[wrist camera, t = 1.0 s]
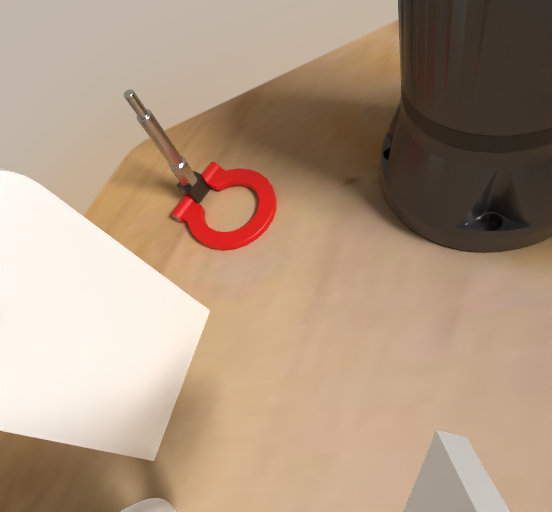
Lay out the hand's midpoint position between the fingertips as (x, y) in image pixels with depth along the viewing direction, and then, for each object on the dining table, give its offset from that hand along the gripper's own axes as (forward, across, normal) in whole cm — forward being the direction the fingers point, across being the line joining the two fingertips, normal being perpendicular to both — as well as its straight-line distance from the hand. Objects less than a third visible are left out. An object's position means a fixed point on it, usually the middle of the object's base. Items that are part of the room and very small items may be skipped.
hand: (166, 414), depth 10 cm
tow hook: (+30, -3, 0) cm, 30 cm away
